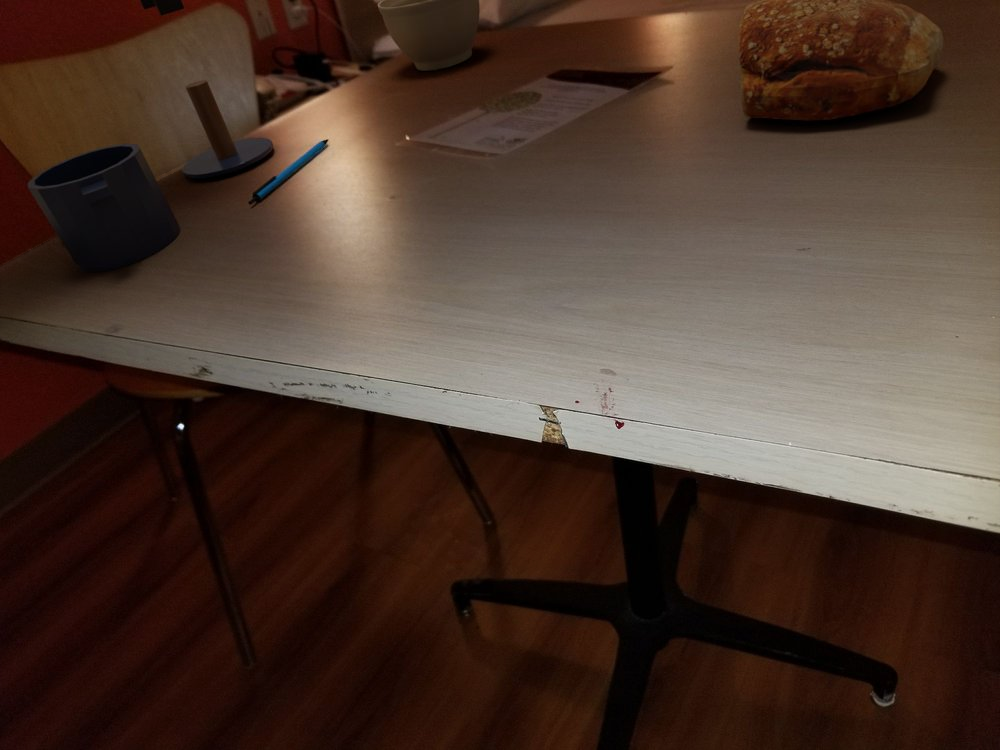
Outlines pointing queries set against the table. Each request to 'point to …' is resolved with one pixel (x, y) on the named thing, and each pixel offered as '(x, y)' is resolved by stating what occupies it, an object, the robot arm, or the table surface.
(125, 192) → the pot
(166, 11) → the robot arm
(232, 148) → the lid
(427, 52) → the planter bowl
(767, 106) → the bread
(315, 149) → the pen
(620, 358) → the table surface
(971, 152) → the table surface
